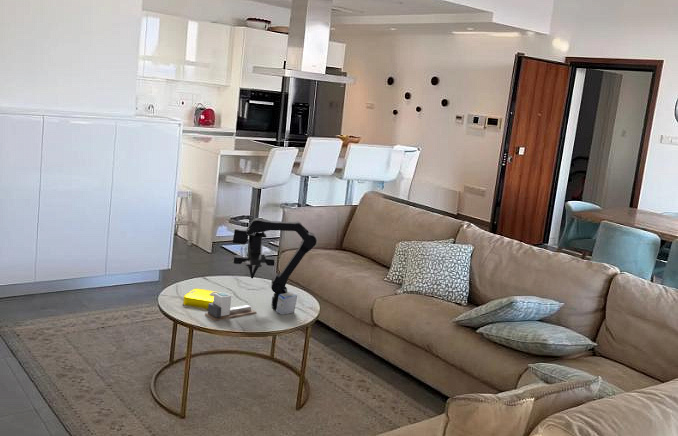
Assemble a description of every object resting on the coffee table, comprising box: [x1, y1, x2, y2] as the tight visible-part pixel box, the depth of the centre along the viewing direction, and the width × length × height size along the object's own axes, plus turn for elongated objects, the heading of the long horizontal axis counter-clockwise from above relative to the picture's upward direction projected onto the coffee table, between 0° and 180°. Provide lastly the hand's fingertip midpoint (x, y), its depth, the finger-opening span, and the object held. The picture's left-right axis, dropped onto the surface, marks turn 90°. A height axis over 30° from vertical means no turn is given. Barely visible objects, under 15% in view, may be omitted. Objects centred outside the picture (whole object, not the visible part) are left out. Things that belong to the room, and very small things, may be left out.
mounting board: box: [204, 308, 257, 322], centre depth 305 cm, size 22×8×1 cm, turn 134°
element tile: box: [182, 287, 220, 310], centre depth 316 cm, size 15×15×5 cm
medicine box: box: [275, 291, 298, 316], centre depth 316 cm, size 8×4×9 cm, turn 138°
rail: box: [207, 303, 252, 318], centre depth 305 cm, size 20×7×5 cm, turn 134°
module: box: [213, 291, 232, 316], centre depth 301 cm, size 5×6×9 cm
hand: (251, 278), depth 319 cm, fingers closed
